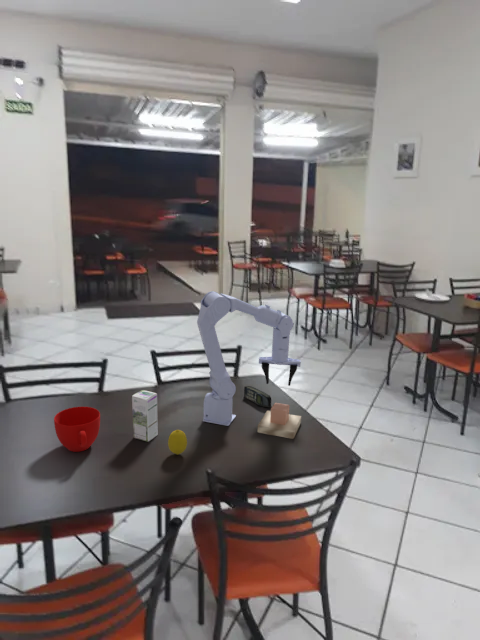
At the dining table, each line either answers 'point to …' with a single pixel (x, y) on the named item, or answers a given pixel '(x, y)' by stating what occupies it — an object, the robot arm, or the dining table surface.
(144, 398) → the syrup box
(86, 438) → the ceramic cup
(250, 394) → the mobile phone
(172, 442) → the lemon
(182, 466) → the dining table surface
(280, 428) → the birch block
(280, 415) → the terracotta cube
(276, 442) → the dining table surface
